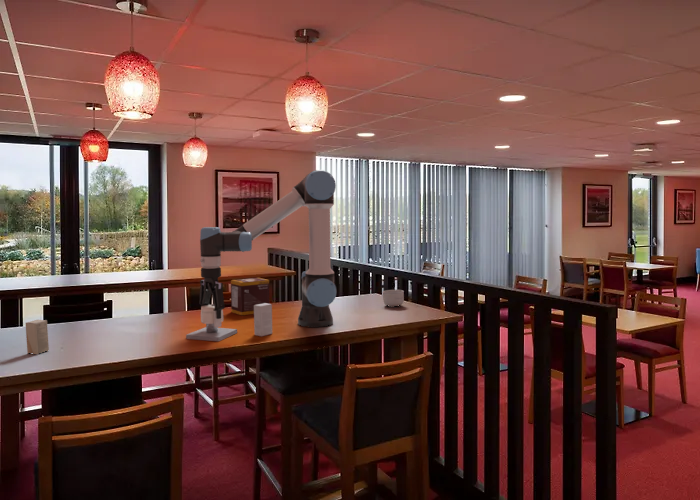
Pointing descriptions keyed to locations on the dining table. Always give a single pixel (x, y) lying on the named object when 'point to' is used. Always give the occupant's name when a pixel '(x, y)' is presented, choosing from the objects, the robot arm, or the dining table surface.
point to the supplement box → (248, 294)
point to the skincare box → (263, 319)
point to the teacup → (393, 297)
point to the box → (37, 336)
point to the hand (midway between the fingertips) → (212, 324)
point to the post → (211, 328)
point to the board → (211, 334)
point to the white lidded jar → (208, 314)
